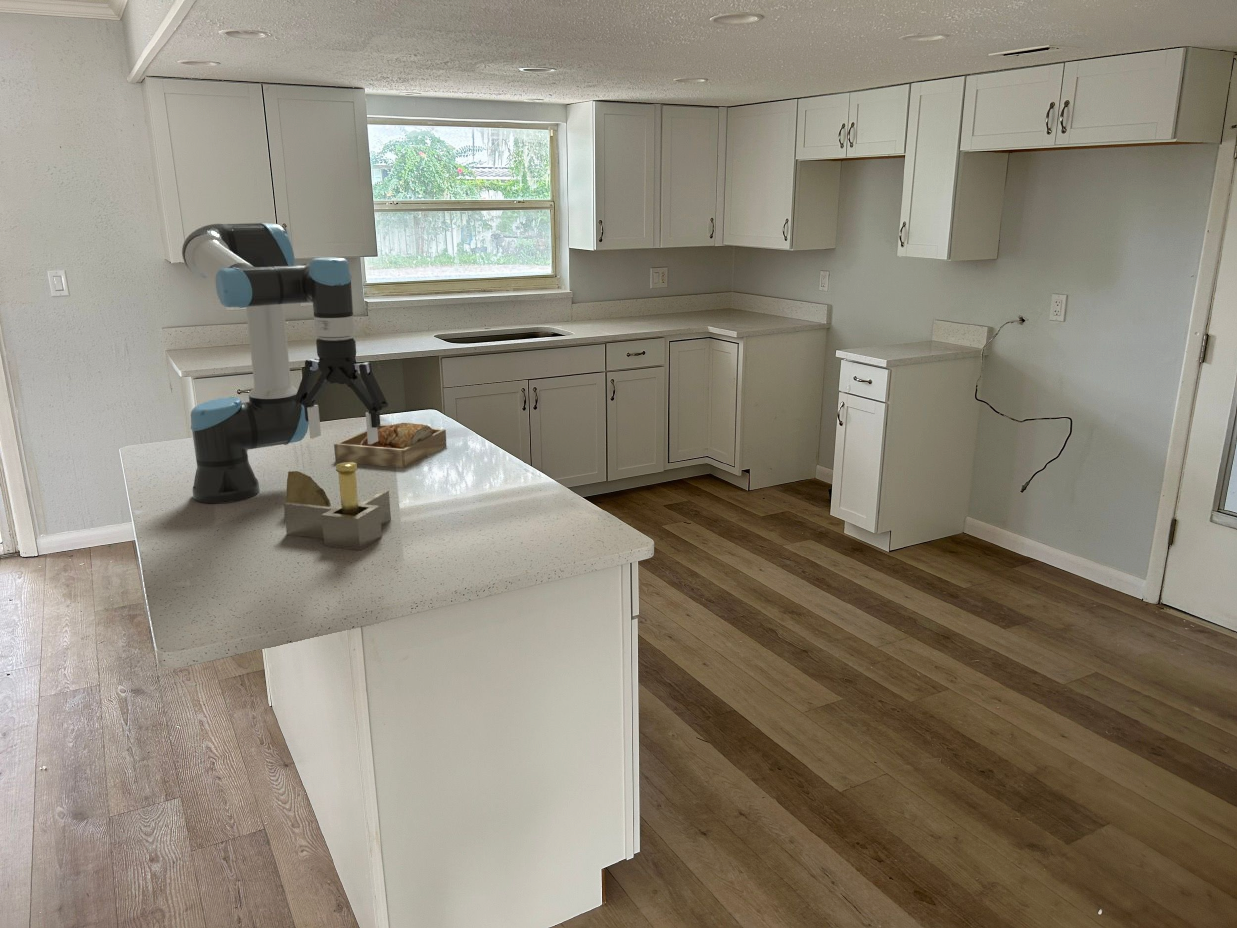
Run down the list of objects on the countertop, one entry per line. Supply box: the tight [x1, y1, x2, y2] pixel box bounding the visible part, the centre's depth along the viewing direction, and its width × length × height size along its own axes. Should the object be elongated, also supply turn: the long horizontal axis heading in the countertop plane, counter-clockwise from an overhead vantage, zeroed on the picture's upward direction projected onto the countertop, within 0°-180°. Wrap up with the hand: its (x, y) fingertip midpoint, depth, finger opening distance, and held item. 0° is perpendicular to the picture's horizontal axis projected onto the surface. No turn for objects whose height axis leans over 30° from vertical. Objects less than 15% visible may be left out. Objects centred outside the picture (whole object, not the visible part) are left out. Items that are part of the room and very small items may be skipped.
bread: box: [360, 422, 433, 449], centre depth 254 cm, size 20×18×10 cm
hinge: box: [283, 489, 392, 551], centre depth 195 cm, size 20×18×7 cm
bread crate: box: [333, 423, 448, 469], centre depth 255 cm, size 22×24×5 cm
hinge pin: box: [335, 462, 359, 516], centre depth 187 cm, size 4×4×16 cm
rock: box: [285, 470, 332, 507], centre depth 207 cm, size 11×9×10 cm
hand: (344, 439), depth 184 cm, fingers open, 13 cm apart
